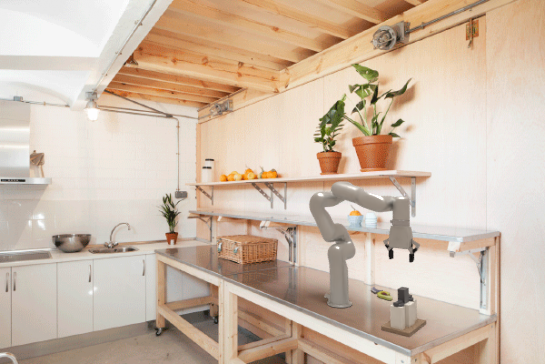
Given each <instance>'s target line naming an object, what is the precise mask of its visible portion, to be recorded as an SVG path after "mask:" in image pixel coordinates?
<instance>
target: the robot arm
mask: <svg viewBox="0 0 545 364" xmlns="http://www.w3.org/2000/svg"><path fill="white" fill-rule="evenodd" d="M410 200H411V199H410V197H408V196H391V195H376V194H373V193H370V192H367V191H365V189H364V188H363V187H361V186H358V185H354V184H353V183H351V182H349V181H341V180H340V181H336V182H334V183H332V185H331V187H330V191H317V192H315V193H313V194H312V195H311V197H310V200H309V203H308V207H309V210H310V213H311V216H312V217H313V219H314V221H315V223H316V225H317V228H318V230H319V233H320V234H321V237H322V239H323V241H324V242H326V243H334V242H335V243H334V244H331V245H330V246H329V248H328V249H327V259H328V265H329V269H328V270H329V293H327V292H325V294H324V296H323V297H324V298H325V299H328V300H327V301H326V302H327V303H326V304H327V305H328V307H332V308H337V309H346V308H351V307H352V305H353V302H352V301H351V300H349V299H350V298H349V295H350V294H349V268H348V264H347V260H350V259H353V258H354V256H355V255H356V253H357V252H356V246H355V244H354V242H353V240H352V237H351V236H350V233H349V231H348V229H347V228H346V226H344V224H342V223H335V222H334V221H333V218H332V217H331V214H330V213H329V212H328V211H327V210H326V208H331V207H337V205H339V204H341V203H343V202H344V201H347V202H349V203H354V204H356V205H358V206H359V207H360V208H363V209H367V210H369V211H373V212H376V213H387V212H392V218H391V219H390V220H389V223H390V224H391V225H390V227H389V233H388V234H389V235H388V238H386V239H384V240H383V245H384V247H385V248H386V251H388V255H387V256H388V260H393V259H394V257H395V256H394V253H395V251H394V250H393V249H401V250H408V252H409V255H408V262H409V263H413V262H414V261H415V254H416V252H418V251H419V249H420V247H421V244H420V243H419V242H418V241H415V239H414V235H413V230H412V226H411V225H410V224H411V221H410V220H411V219H410V218H411V216H410V213H411V211H410V210H411V208H410V207H411V201H410ZM413 247H414V248H413Z"/></svg>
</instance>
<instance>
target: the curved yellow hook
mask: <svg viewBox="0 0 545 364" xmlns="http://www.w3.org/2000/svg"><path fill="white" fill-rule="evenodd" d="M370 290H371V291H372V292H374V293H376V294H377V296H376V297H378V298H380V299H383V300H387V301H392V300H393V296H392V295H391V292H389V291H385V290H383V289H378V288H376V286H372V287H371V289H370Z"/></svg>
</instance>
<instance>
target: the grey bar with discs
mask: <svg viewBox="0 0 545 364" xmlns="http://www.w3.org/2000/svg"><path fill="white" fill-rule="evenodd" d="M409 290H410V288H409V287H407V286H400V287H399V288H397V300H398V301H396V300H395V301H396V302H395V301H393V302H392V304H393V306H394V307H404V304H406V303H408V302H409V301H413V300H414V299H415V298H414V297H413V294H410V293H409V292H410V291H409Z"/></svg>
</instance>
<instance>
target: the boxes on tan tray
mask: <svg viewBox="0 0 545 364" xmlns="http://www.w3.org/2000/svg"><path fill="white" fill-rule="evenodd" d="M417 300H418V299H417V298H414V300H413V301H409V302H408V303H406V304H404V307H394V306H393V303H392V304H390V305H389V309H390V311H389V313H390V319H389V321H387V322H386V323H384V324H383V325H381V327H380V329H381V331H385V332H389V333H392V334H396V335H400V336H404V337H407V338H410V337H412V336H413V335H414V334H415V333H417V332H418V331H419V330H420V329H422V328H423V327H424V326H425V325H427V320H426V319H421V318H418V308H417V307H418V306H417V304H418V303H417ZM396 301H398V299H397V300H395V301H394V302H396Z"/></svg>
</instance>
